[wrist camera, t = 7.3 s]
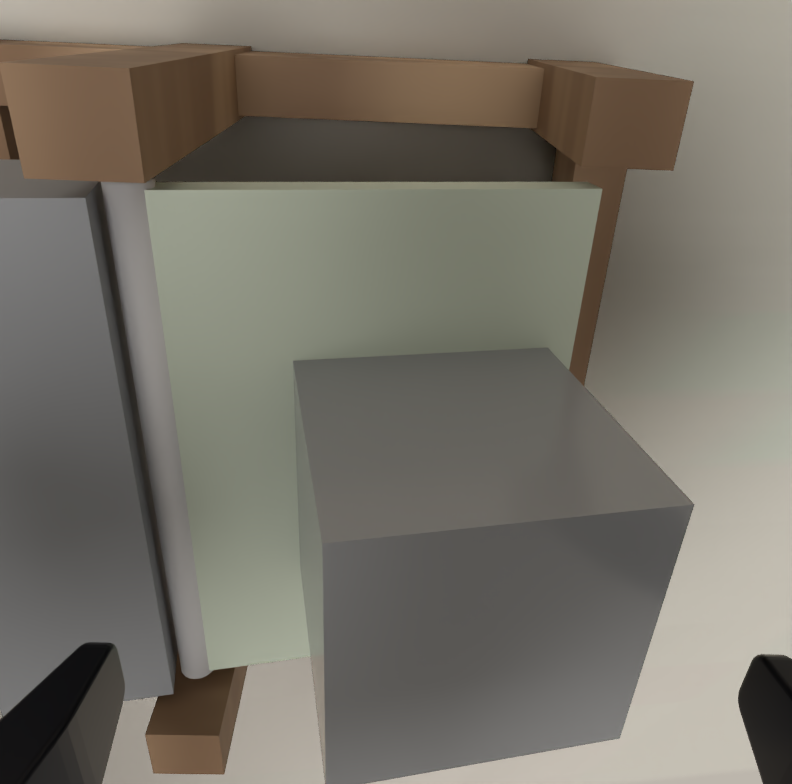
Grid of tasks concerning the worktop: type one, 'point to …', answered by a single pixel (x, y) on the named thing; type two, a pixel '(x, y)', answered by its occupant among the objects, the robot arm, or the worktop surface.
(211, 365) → the trapdoor
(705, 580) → the worktop surface
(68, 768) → the robot arm
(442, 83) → the trapdoor frame
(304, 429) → the grey cube block
